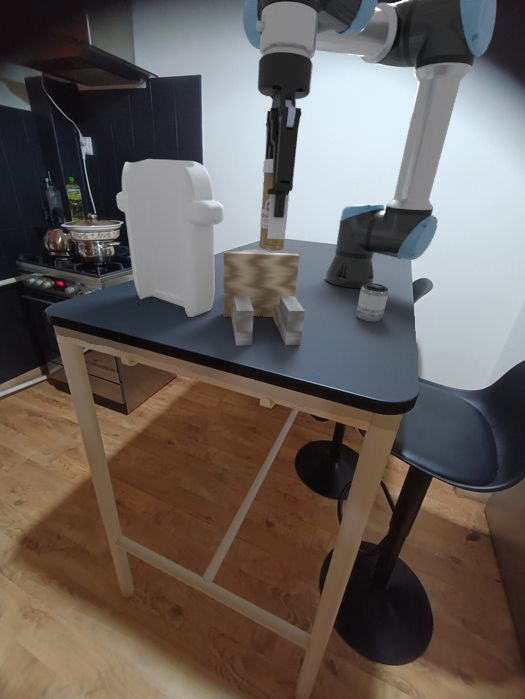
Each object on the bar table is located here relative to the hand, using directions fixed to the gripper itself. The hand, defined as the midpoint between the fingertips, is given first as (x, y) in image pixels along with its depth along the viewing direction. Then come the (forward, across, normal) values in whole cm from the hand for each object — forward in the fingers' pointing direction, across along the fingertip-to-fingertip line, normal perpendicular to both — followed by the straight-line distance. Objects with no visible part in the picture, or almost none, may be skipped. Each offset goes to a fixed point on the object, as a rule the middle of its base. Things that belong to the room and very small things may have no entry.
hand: (272, 235), depth 55 cm
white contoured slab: (+20, -19, -18) cm, 33 cm away
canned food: (+20, -27, +1) cm, 33 cm away
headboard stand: (+19, -4, 0) cm, 20 cm away
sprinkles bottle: (+2, 0, 0) cm, 2 cm away
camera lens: (+20, -10, +27) cm, 35 cm away
